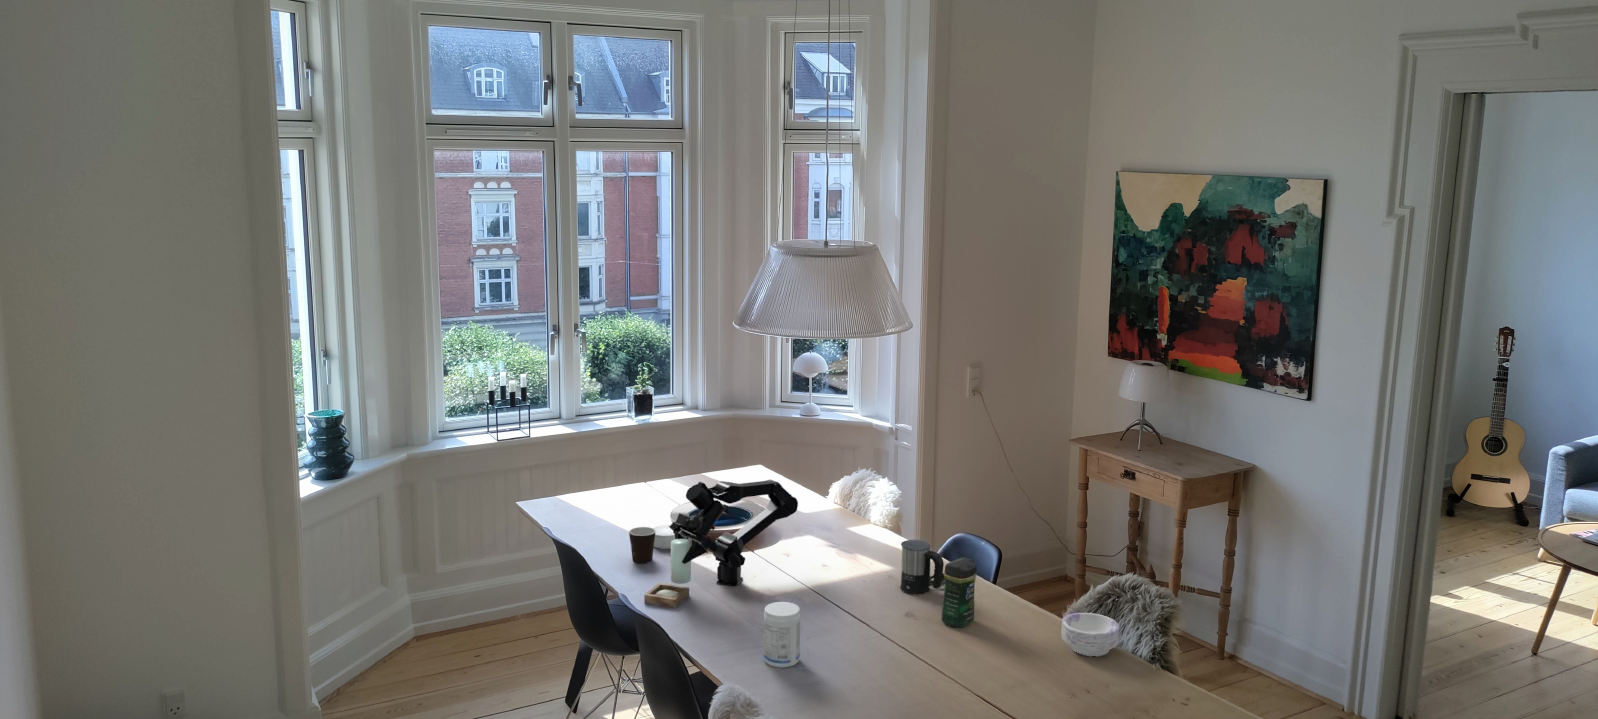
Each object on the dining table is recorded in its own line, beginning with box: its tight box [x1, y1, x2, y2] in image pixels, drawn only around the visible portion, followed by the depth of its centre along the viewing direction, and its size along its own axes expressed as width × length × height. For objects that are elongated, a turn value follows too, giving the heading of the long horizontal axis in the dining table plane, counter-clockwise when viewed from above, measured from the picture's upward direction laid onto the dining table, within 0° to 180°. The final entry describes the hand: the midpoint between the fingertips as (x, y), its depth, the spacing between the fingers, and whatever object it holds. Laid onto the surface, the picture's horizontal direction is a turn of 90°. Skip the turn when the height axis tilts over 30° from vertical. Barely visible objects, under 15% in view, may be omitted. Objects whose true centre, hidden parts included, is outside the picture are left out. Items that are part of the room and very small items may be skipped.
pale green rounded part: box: [670, 539, 692, 585], centre depth 326 cm, size 6×6×12 cm
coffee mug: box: [628, 526, 656, 565], centre depth 357 cm, size 12×9×10 cm
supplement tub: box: [763, 601, 801, 668], centre depth 284 cm, size 10×10×15 cm
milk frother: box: [899, 539, 945, 595], centre depth 337 cm, size 14×16×15 cm
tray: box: [643, 582, 690, 609], centre depth 324 cm, size 10×10×3 cm
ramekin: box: [652, 524, 675, 550], centre depth 371 cm, size 11×11×5 cm
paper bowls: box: [1060, 612, 1121, 657], centre depth 295 cm, size 15×15×8 cm
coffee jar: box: [941, 556, 978, 628], centre depth 311 cm, size 10×8×19 cm
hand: (677, 560), depth 325 cm, fingers closed on pale green rounded part, 6 cm apart
